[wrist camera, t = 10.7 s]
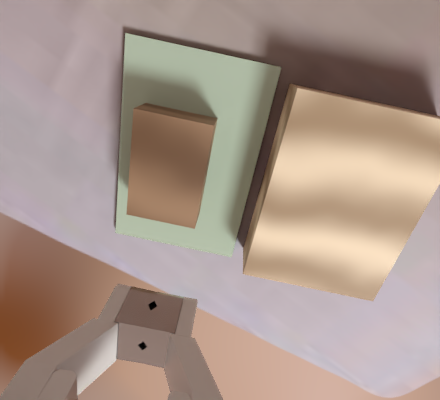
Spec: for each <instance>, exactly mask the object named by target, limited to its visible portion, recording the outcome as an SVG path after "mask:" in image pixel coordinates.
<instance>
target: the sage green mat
mask: <svg viewBox="0 0 440 400" xmlns="http://www.w3.org/2000/svg"><path fill="white" fill-rule="evenodd" d="M280 71H281V67H278V66H274V65H269V64H265V63H260V62H256V61H251V60H246V59H242V58H237V57H233V56H228V55H224V54H219V53H215V52H210V51H205V50H201V49H196V48H192V47H187V46H183V45H178V44H174V43H169V42H164V41H160V40H155V39H151V38H146V37H142V36H137V35H132V34H128V33H125V48H124V69H123V89H122V110H121V130H120V151H119V171H118V192H117V212H116V232H115V233H118V234H123V235H128V236H133V237H138V238H142V239H147V240H152V241H157V242H161V243H166V244H171V245H176V246H180V247H185V248H190V249H195V250H200V251H204V252H209V253H214V254H219V255H223V256H228V257H232V253H233V249H234V246H235V242H236V238H237V234H238V230H239V227H240V223H241V219H242V215H243V211H244V208H245V204H246V200H247V196H248V193H249V189H250V185H251V181H252V177H253V174H254V170H255V166H256V162H257V158H258V155H259V151H260V147H261V143H262V139H263V136H264V132H265V128H266V124H267V120H268V117H269V113H270V109H271V105H272V101H273V98H274V94H275V90H276V86H277V82H278V79H279V75H280ZM144 103H149V104H153V105H158V106H163V107H167V108H172V109H177V110H181V111H186V112H190V113H195V114H200V115H204V116H209V117H214V118H218V119H217V124H216V129H215V135H214V140H213V145H212V150H211V156H210V161H209V166H208V171H207V177H206V182H205V187H204V193H203V198H202V203H201V208H200V213H199V217H198V220H197V223H196V227H195V229H193V228H188V227H183V226H179V225H174V224H169V223H164V222H160V221H155V220H150V219H145V218H140V217H136V216H131V215H126V214H127V199H128V183H129V168H130V153H131V138H132V122H133V108H135V107H138V106H140V105H142V104H144Z"/></svg>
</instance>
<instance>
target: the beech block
mask: <svg viewBox="0 0 440 400" xmlns="http://www.w3.org/2000/svg"><path fill="white" fill-rule="evenodd" d="M439 184H440V116H436V115H432V114H427V113H423V112H418V111H413V110H409V109H404V108H400V107H395V106H390V105H386V104H381V103H377V102H372V101H368V100H363V99H358V98H354V97H349V96H345V95H340V94H336V93H331V92H326V91H322V90H317V89H313V88H308V87H304V86H299V85H294V84H289V87H288V91H287V95H286V98H285V102H284V105H283V109H282V112H281V116H280V120H279V123H278V127H277V130H276V134H275V137H274V141H273V145H272V148H271V152H270V155H269V159H268V162H267V166H266V169H265V173H264V177H263V180H262V184H261V187H260V191H259V194H258V198H257V202H256V205H255V209H254V212H253V216H252V219H251V223H250V226H249V230H248V234H247V237H246V241H245V244H244V248H243V274H245V275H250V276H255V277H260V278H264V279H269V280H274V281H279V282H284V283H288V284H293V285H298V286H303V287H308V288H312V289H317V290H322V291H327V292H331V293H336V294H341V295H346V296H351V297H355V298H360V299H365V300H370V301H373V300H374V298H375V297H376V295H377V293H378V291H379V290H380V288H381V286H382V284H383V282H384V281H385V279H386V277H387V275H388V274H389V272H390V270H391V268H392V267H393V265H394V263H395V261H396V260H397V258H398V256H399V254H400V253H401V251H402V249H403V247H404V245H405V244H406V242H407V240H408V238H409V237H410V235H411V233H412V231H413V230H414V228H415V226H416V224H417V223H418V221H419V219H420V217H421V216H422V214H423V212H424V210H425V208H426V207H427V205H428V203H429V201H430V200H431V198H432V196H433V194H434V193H435V191H436V189H437V187H438V186H439Z"/></svg>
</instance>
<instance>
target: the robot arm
mask: <svg viewBox="0 0 440 400" xmlns="http://www.w3.org/2000/svg"><path fill="white" fill-rule="evenodd" d="M196 307H197V299H192V298H186V297H181V296H176V295H171V294H166V293H160V292H154V291H150V290H145V289H141V288H136V287H131V286H126V285H122V284H118V285H117V286H116V287H115V288H114V290H113V292H112V294H111V296H110V297H109V299H108V301H107V303H106V305H105V307H104V308H103V310H102V312H101V314H100V316H99V318H98V319H95V318H93V319H92V320H90V321H88V322H87V323H85V324H84V325H82V326H80V327H79V328H77V329H75V330H74V331H72V332H71V333H69V334H67V335H66V336H64V337H62V338H61V339H59V340H58V341H56V342H54V343H53V344H51V345H50V346H48V347H46V348H45V349H43V350H42V351H40V352H38V353H37V354H35V355H34V356H32V357H30V358H28V359H27V360H25V362H24V363H23V365H22V366H21V367H20V369H19V370H18V372H17V373H16V374H15V376H14V377H13V379H12V380H11V381H10V383H9V384H8V386H7V387H6V389H5V390H4V391H3V393H2V394H1V396H0V400H78V395H79V394H80V393H81V392H82V391H83V390H84V389H85V388H86V387H88V386H89V385H90V384H91V383H92V382H93V381H94V380H95V379H96V378H97V377H99V376H100V375H101V374H102V373H103V372H104V371H105V370H106V369H107V368H108V367H110V366H111V365H112V364H113V363H114V362H115V361H116V359H120V360H126V361H133V362H138V363H144V364H148V365H152V366H157V367H162V368H164V371H165V374H166V378H167V382H168V385H169V389H170V392H171V393H170V394H169V397H168V400H223V398H222V396H221V394H220V392H219V389H218V387H217V385H216V383H215V381H214V379H213V376H212V374H211V372H210V370H209V368H208V366H207V363H206V361H205V359H204V357H203V355H202V353H201V350H200V348H199V346H198V344H197V342H196V340H195V338H192V337H191V334H192V329H193V323H194V317H195V313H196Z"/></svg>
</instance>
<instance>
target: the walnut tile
mask: <svg viewBox="0 0 440 400" xmlns="http://www.w3.org/2000/svg"><path fill="white" fill-rule="evenodd" d="M217 119H218V118H214V117H209V116H204V115H200V114H195V113H190V112H186V111H181V110H177V109H172V108H167V107H163V106H158V105H153V104H149V103H144V104H142V105H140V106H138V107H135V108H133V122H132V138H131V153H130V168H129V183H128V199H127V214H126V215H131V216H136V217H140V218H145V219H150V220H155V221H160V222H164V223H169V224H174V225H179V226H183V227H188V228H193V229H195V227H196V223H197V220H198V217H199V213H200V208H201V203H202V198H203V193H204V187H205V182H206V177H207V171H208V166H209V161H210V156H211V150H212V145H213V140H214V135H215V129H216V124H217Z"/></svg>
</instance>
